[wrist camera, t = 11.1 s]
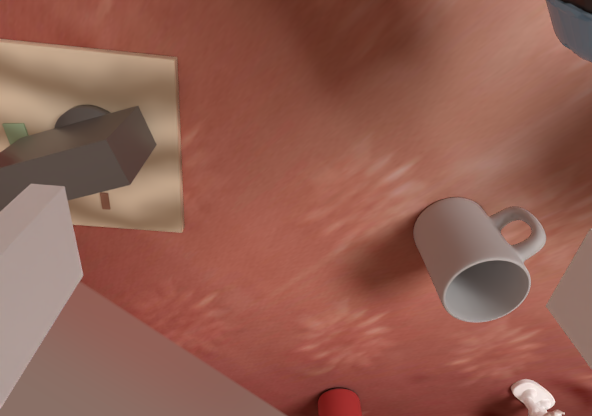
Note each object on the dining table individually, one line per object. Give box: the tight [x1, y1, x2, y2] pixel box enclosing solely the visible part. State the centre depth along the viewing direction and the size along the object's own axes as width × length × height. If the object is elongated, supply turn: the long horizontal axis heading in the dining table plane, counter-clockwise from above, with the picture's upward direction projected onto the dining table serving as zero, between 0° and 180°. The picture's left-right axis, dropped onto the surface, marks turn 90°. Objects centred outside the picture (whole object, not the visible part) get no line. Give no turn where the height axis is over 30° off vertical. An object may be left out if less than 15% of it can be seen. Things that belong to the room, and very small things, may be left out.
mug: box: [413, 197, 546, 322], centre depth 44 cm, size 12×8×11 cm
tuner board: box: [0, 39, 184, 233], centre depth 42 cm, size 19×18×1 cm
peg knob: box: [0, 104, 157, 211], centre depth 37 cm, size 15×6×9 cm, turn 105°
